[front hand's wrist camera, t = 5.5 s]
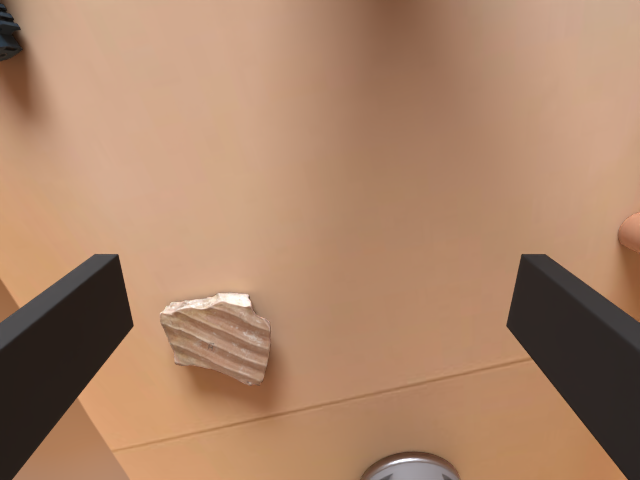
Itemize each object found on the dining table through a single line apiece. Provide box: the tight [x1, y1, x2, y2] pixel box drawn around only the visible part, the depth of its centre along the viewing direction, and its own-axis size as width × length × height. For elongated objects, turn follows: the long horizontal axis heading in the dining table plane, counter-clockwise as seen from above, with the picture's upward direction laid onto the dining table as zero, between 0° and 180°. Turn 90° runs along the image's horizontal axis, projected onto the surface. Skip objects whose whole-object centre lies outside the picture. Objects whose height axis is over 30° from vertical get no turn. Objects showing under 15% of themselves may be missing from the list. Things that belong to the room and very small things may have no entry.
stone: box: [160, 293, 271, 386], centre depth 45 cm, size 13×12×2 cm
